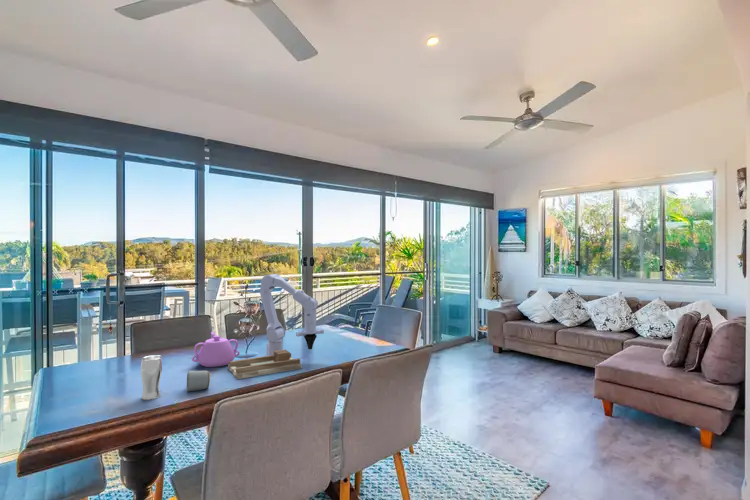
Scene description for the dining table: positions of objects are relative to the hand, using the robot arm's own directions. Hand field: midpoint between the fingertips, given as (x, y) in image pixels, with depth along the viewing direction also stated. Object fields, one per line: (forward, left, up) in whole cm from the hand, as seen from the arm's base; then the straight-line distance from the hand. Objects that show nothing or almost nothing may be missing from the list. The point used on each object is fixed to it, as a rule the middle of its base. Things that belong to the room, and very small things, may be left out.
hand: (310, 348), depth 194 cm
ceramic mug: (+11, -55, -7) cm, 56 cm away
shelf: (0, -23, -6) cm, 24 cm away
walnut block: (0, -15, -4) cm, 16 cm away
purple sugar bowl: (-22, -41, -7) cm, 47 cm away
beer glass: (+12, -71, -7) cm, 72 cm away
